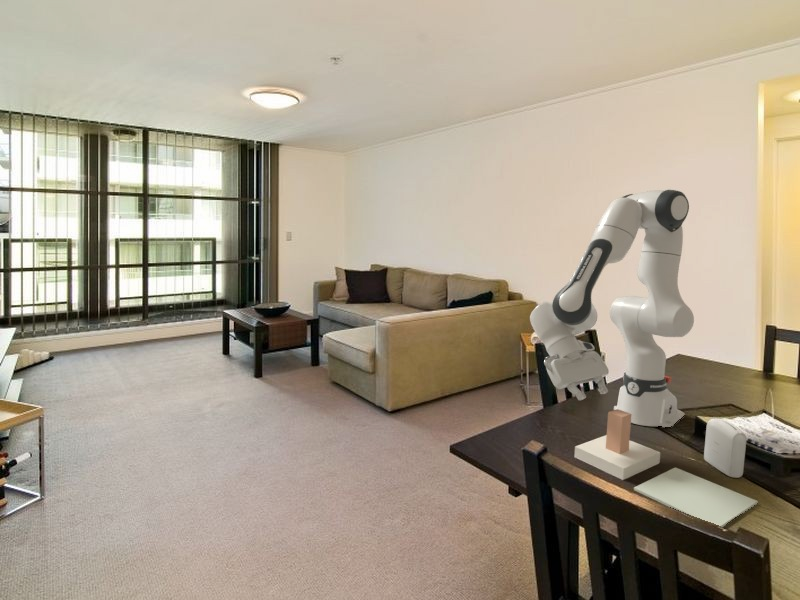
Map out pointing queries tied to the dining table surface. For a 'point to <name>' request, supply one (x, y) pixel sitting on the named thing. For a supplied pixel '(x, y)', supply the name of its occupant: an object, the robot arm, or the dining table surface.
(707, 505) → the mat
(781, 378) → the dining table surface
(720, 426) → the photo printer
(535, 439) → the dining table surface
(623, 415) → the block
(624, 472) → the block
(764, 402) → the dining table surface
